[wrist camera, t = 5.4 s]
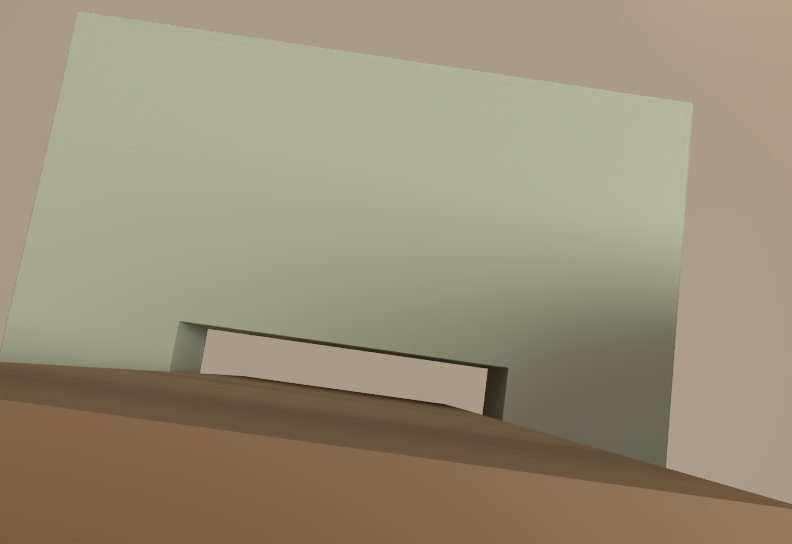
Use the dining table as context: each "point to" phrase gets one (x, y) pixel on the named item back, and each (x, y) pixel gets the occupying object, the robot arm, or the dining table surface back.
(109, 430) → the wooden block
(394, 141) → the square socket block
